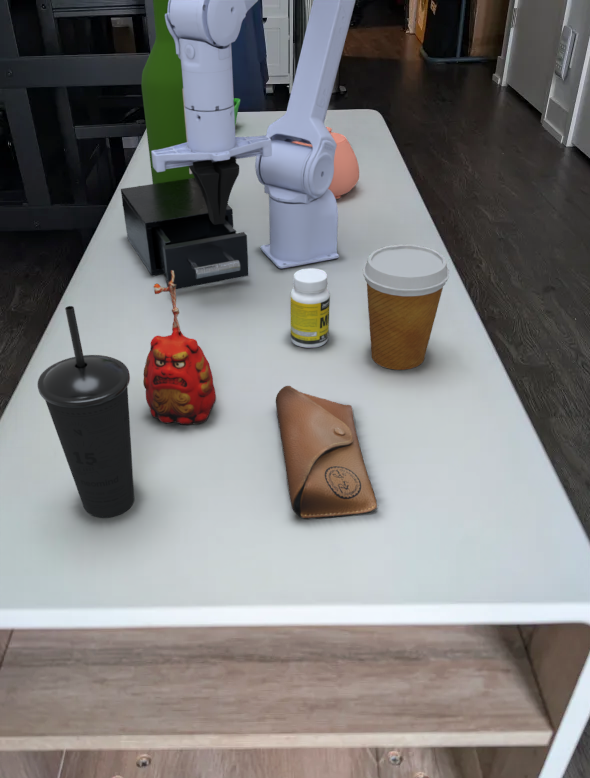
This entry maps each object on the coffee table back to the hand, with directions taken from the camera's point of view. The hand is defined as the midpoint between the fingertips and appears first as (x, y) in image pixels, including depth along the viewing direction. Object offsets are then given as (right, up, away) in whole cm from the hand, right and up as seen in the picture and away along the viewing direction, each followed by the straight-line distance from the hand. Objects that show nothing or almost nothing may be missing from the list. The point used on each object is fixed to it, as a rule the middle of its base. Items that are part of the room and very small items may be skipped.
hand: (217, 221), depth 101 cm
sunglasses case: (+12, -32, -21) cm, 40 cm away
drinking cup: (-9, -36, -25) cm, 45 cm away
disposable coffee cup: (+22, -18, -6) cm, 29 cm away
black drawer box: (-7, +3, +19) cm, 20 cm away
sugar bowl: (+15, +18, +37) cm, 44 cm away
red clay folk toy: (-3, -26, -14) cm, 30 cm away
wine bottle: (-8, +13, +31) cm, 34 cm away
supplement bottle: (+12, -16, -2) cm, 20 cm away
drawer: (-3, -3, +11) cm, 12 cm away
